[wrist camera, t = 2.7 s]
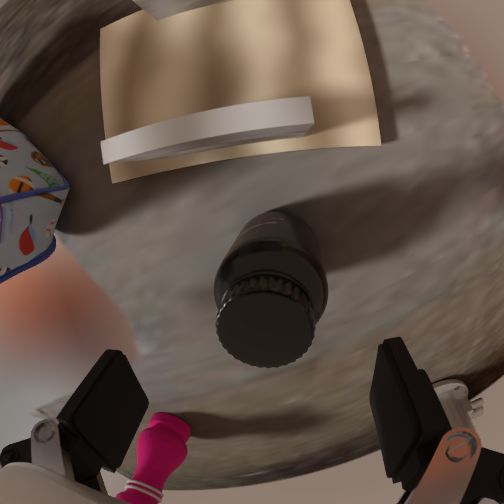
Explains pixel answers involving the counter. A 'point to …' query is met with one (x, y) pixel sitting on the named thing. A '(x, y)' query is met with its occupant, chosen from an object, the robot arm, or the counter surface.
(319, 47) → the wooden stand
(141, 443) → the pepper mill
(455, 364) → the counter surface
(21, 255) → the lunch box
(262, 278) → the supplement bottle
